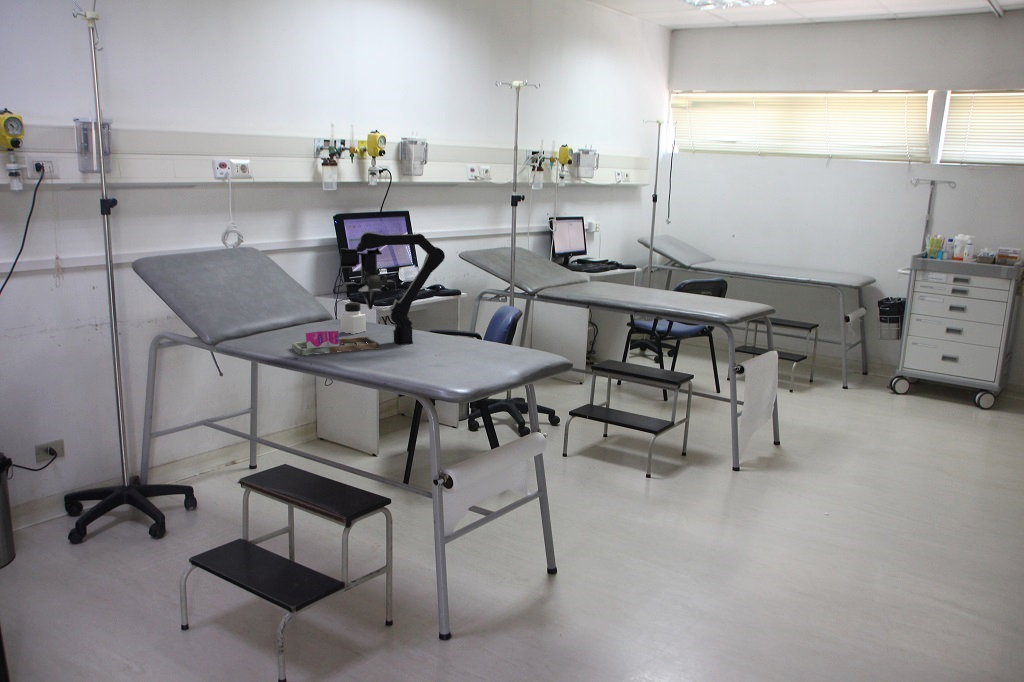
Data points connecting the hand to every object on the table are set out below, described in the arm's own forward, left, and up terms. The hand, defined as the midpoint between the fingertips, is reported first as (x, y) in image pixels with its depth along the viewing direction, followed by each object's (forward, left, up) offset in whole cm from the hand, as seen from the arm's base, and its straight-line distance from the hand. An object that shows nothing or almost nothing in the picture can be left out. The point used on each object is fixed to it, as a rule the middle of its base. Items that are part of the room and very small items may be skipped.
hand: (370, 309), depth 301 cm
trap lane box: (+13, +7, -13) cm, 20 cm away
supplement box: (+14, +6, -10) cm, 18 cm away
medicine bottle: (+6, -24, -13) cm, 28 cm away
